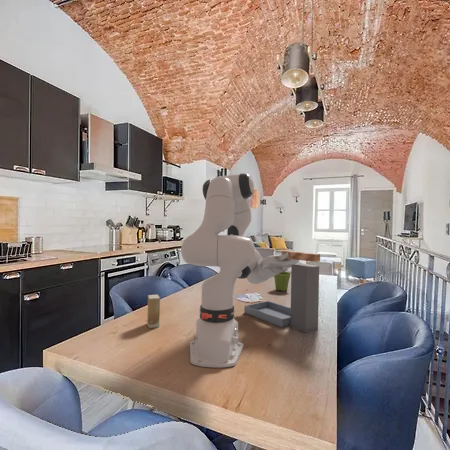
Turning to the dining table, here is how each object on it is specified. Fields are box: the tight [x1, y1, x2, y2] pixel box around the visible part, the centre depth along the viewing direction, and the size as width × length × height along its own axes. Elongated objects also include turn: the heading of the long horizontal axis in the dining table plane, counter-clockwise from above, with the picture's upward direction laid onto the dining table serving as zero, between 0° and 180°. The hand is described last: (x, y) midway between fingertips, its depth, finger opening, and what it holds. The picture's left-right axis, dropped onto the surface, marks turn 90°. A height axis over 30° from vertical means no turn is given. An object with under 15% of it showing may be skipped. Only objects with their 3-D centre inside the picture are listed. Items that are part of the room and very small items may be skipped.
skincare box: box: [146, 294, 161, 329], centre depth 122 cm, size 6×4×12 cm
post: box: [289, 263, 320, 333], centre depth 122 cm, size 8×8×26 cm
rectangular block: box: [280, 250, 321, 263], centre depth 125 cm, size 18×3×3 cm, turn 37°
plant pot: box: [273, 271, 291, 292], centre depth 190 cm, size 12×12×11 cm
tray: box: [243, 300, 291, 328], centre depth 136 cm, size 24×16×4 cm, turn 37°
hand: (292, 253), depth 128 cm, fingers closed on rectangular block, 3 cm apart
